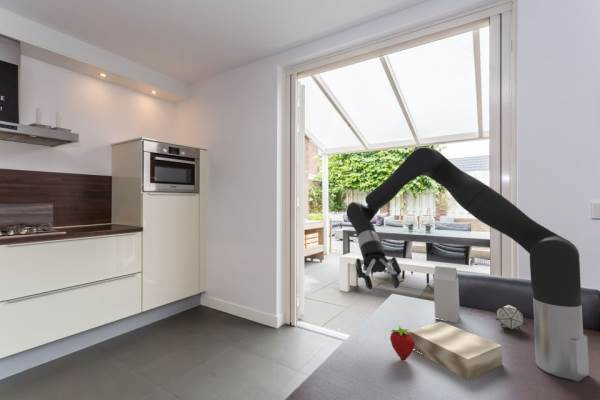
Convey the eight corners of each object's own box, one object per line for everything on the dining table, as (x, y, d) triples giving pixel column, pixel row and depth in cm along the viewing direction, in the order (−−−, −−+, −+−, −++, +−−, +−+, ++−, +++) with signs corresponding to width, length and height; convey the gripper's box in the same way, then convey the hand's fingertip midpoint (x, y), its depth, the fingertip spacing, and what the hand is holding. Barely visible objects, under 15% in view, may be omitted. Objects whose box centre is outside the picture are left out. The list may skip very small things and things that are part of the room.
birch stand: (502, 364, 75) (501, 345, 75) (468, 380, 69) (467, 359, 69) (441, 337, 91) (441, 321, 91) (409, 347, 85) (409, 331, 85)
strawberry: (399, 369, 74) (397, 330, 74) (386, 354, 82) (385, 319, 82) (420, 367, 75) (419, 328, 75) (406, 352, 82) (404, 317, 83)
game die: (518, 341, 95) (539, 323, 90) (493, 332, 95) (513, 314, 90) (506, 318, 102) (525, 301, 97) (484, 310, 103) (501, 292, 97)
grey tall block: (456, 323, 101) (454, 269, 101) (434, 319, 105) (433, 267, 106) (459, 317, 107) (457, 266, 107) (439, 313, 111) (437, 264, 111)
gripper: (353, 240, 99) (364, 282, 87) (392, 239, 100) (409, 280, 89) (349, 253, 104) (359, 294, 92) (386, 251, 105) (401, 292, 94)
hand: (384, 287), depth 90 cm, fingers open, 8 cm apart
